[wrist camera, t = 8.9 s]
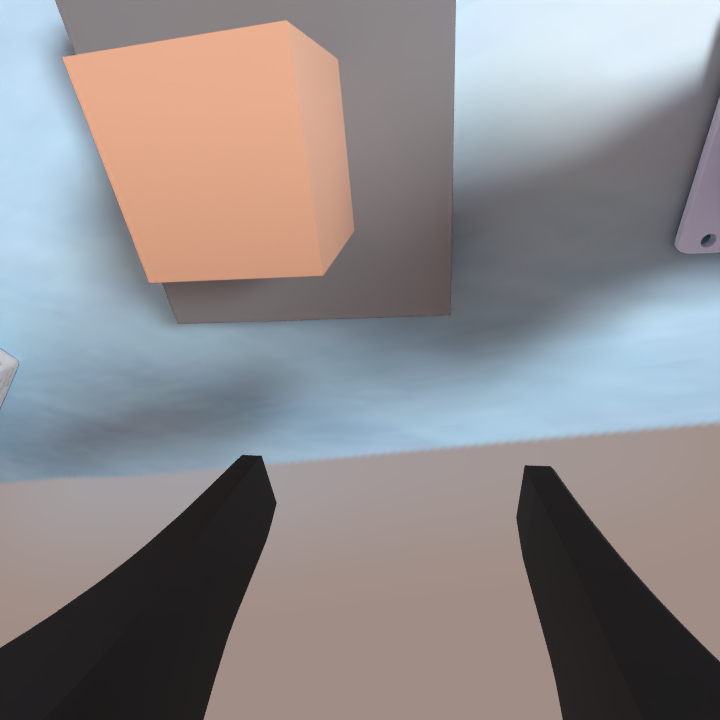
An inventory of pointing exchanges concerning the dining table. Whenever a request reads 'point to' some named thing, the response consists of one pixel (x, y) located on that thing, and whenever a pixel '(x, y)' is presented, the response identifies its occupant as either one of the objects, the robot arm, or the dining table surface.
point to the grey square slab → (363, 142)
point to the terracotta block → (223, 151)
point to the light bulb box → (6, 373)
